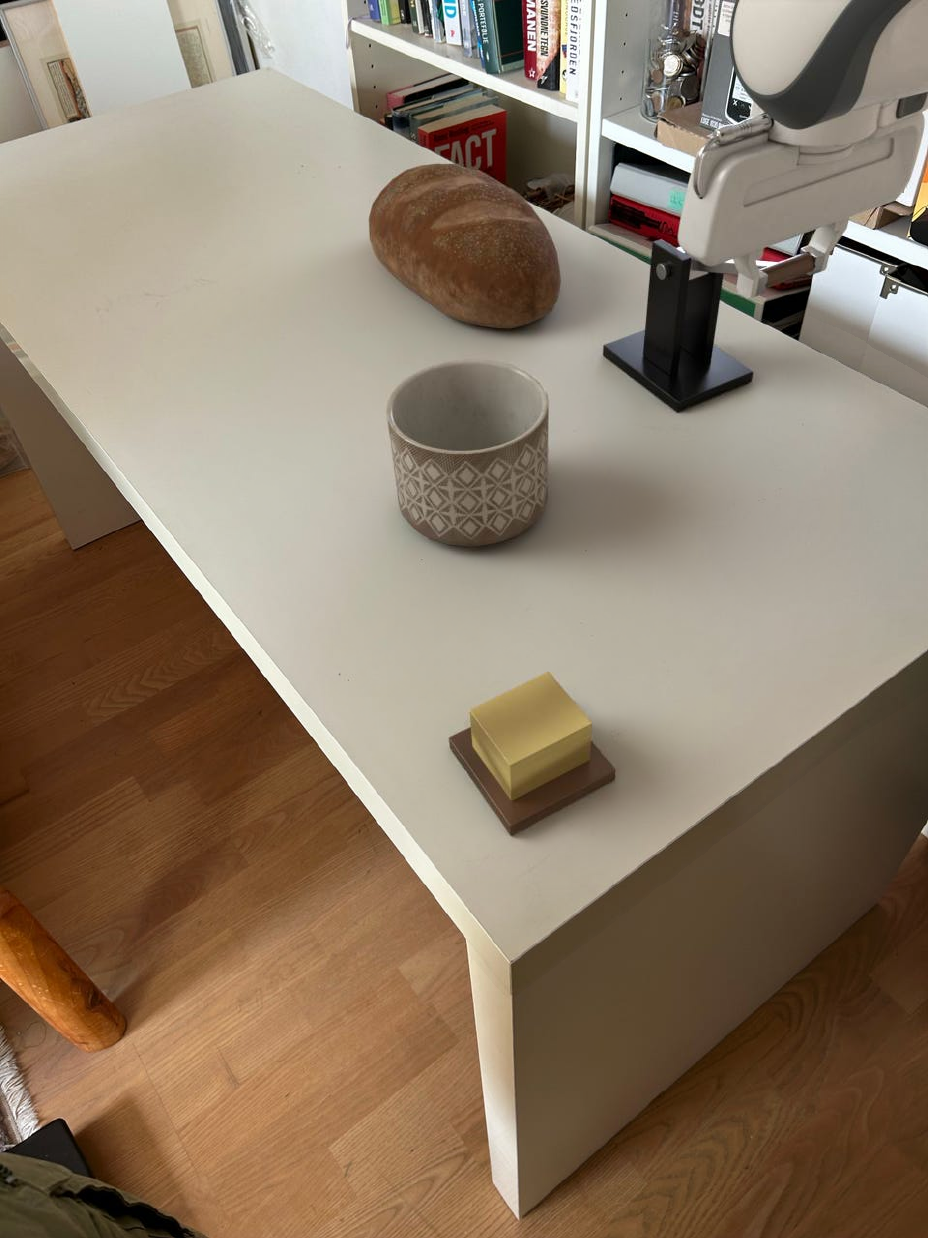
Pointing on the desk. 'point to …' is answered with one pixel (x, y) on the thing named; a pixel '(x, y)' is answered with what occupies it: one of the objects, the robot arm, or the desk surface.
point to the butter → (531, 753)
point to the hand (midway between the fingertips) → (781, 281)
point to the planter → (470, 450)
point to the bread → (466, 245)
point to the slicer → (679, 336)
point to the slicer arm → (775, 270)
